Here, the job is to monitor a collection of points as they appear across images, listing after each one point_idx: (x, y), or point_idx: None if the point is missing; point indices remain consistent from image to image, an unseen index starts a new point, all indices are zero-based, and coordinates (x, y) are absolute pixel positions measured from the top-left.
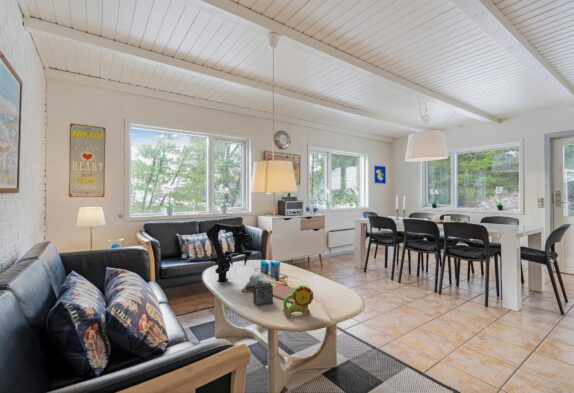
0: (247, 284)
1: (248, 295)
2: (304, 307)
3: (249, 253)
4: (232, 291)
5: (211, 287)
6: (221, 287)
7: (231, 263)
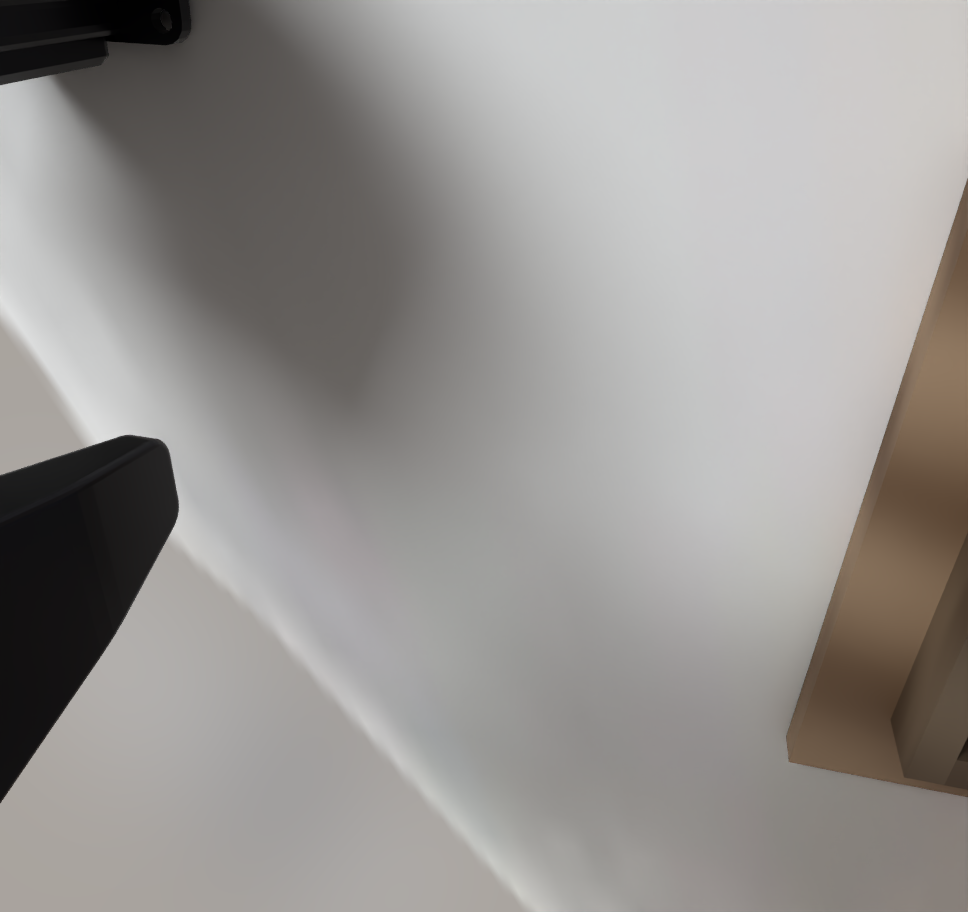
0: (954, 680)
1: (935, 880)
2: None
3: None
4: (592, 686)
5: None
6: (289, 464)
7: (80, 636)
